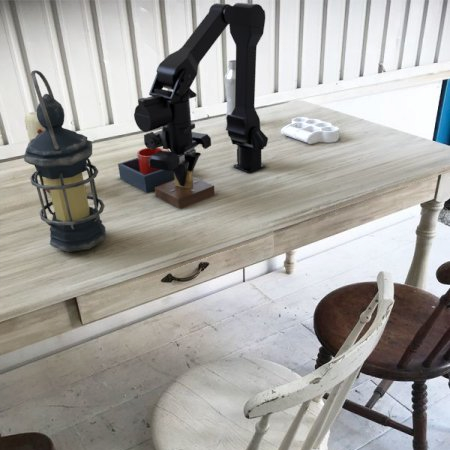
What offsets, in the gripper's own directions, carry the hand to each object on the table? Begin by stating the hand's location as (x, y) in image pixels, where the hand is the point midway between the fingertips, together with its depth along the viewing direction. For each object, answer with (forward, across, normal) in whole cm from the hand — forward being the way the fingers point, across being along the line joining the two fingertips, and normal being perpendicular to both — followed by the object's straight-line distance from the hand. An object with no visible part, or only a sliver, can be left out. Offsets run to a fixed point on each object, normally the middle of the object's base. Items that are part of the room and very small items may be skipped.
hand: (184, 184), depth 129 cm
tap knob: (0, 0, 0) cm, 0 cm away
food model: (+3, +11, -33) cm, 35 cm away
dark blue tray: (+3, -7, -14) cm, 15 cm away
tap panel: (+3, 0, 0) cm, 3 cm away
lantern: (+3, +30, -8) cm, 31 cm away
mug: (+2, -7, -13) cm, 15 cm away
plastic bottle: (+3, -54, -14) cm, 56 cm away
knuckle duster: (+3, -54, +12) cm, 55 cm away
